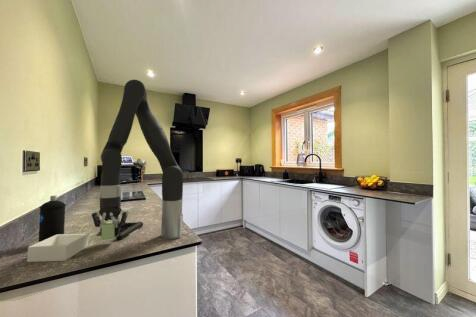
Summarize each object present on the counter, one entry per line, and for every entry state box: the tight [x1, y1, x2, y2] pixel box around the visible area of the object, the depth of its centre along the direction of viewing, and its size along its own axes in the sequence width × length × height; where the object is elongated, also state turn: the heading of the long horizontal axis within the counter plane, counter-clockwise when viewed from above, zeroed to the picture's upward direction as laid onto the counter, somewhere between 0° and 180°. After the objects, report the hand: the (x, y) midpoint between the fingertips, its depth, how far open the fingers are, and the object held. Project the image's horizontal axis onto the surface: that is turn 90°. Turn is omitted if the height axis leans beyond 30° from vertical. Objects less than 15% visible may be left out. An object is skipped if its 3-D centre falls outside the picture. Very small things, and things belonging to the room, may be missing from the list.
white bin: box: [26, 233, 89, 263], centre depth 73 cm, size 12×12×5 cm
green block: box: [100, 221, 117, 241], centre depth 82 cm, size 4×4×6 cm
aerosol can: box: [38, 195, 67, 242], centre depth 82 cm, size 8×8×20 cm
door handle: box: [97, 221, 144, 241], centre depth 97 cm, size 3×20×16 cm
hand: (110, 235), depth 82 cm, fingers closed on green block, 4 cm apart
